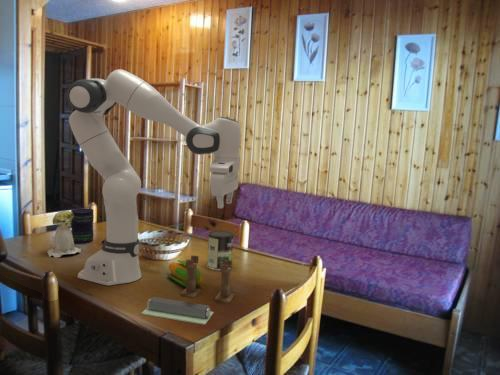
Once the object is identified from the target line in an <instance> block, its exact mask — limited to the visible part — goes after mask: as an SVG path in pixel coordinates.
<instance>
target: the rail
mask: <svg viewBox="0 0 500 375" xmlns="http://www.w3.org/2000/svg"><path fill="white" fill-rule="evenodd" d="M146 307H147V308H149V310H151V311H157V312H164V313H170V314H176V315H182V316H188V317H194V318H200V319H206V317H209V315H210V311H211V307H210V306H209V305H208V304H201V303H194V302H187V301H182V300H175V299H168V298H162V297H156V296H152V297H151V298H149V299H148V300H147V303H146Z"/></svg>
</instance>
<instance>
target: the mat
mask: <svg viewBox="0 0 500 375" xmlns="http://www.w3.org/2000/svg"><path fill="white" fill-rule="evenodd" d="M141 315H145V316H149V317H156V318H162V319H167V320H175V321H180V322H186V323H190V324H192V323H193V324H198V325H206V324H207V323H208V321H210V319H211V317H212V316H213V315H214V311H211V310H210V315H209V317H206V319H200V318H194V317H188V316H182V315H176V314H170V313H164V312H157V311H151V310H149V308H148V307H147V308H145V309H144V310H143V311H142V312H141Z"/></svg>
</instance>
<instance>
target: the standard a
mask: <svg viewBox="0 0 500 375" xmlns="http://www.w3.org/2000/svg"><path fill="white" fill-rule="evenodd" d="M185 262H186V267H187V287H185V289H183V290H182V291H181V292H180V296H182V297H189V298H196V297H197V296H198V295H199V293H201V292H202V289H201V288H197V286H196V268H198V267H197V265H198V264H199V256H198V255H191V256H190V259H186V260H185Z"/></svg>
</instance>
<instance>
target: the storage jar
mask: <svg viewBox="0 0 500 375" xmlns="http://www.w3.org/2000/svg"><path fill="white" fill-rule="evenodd" d="M70 212H73V214H74V217H73V219H72V220H71V232H72V236H73V241H74V245H87V244H86V243H89V244H91V243H90V242H92V241H93V242H94V229H93V228H94V209H92V208H87V207H86V208H85V207H83V208H79V207H78V208H72V209H71V210H70ZM93 242H92V243H93Z"/></svg>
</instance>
